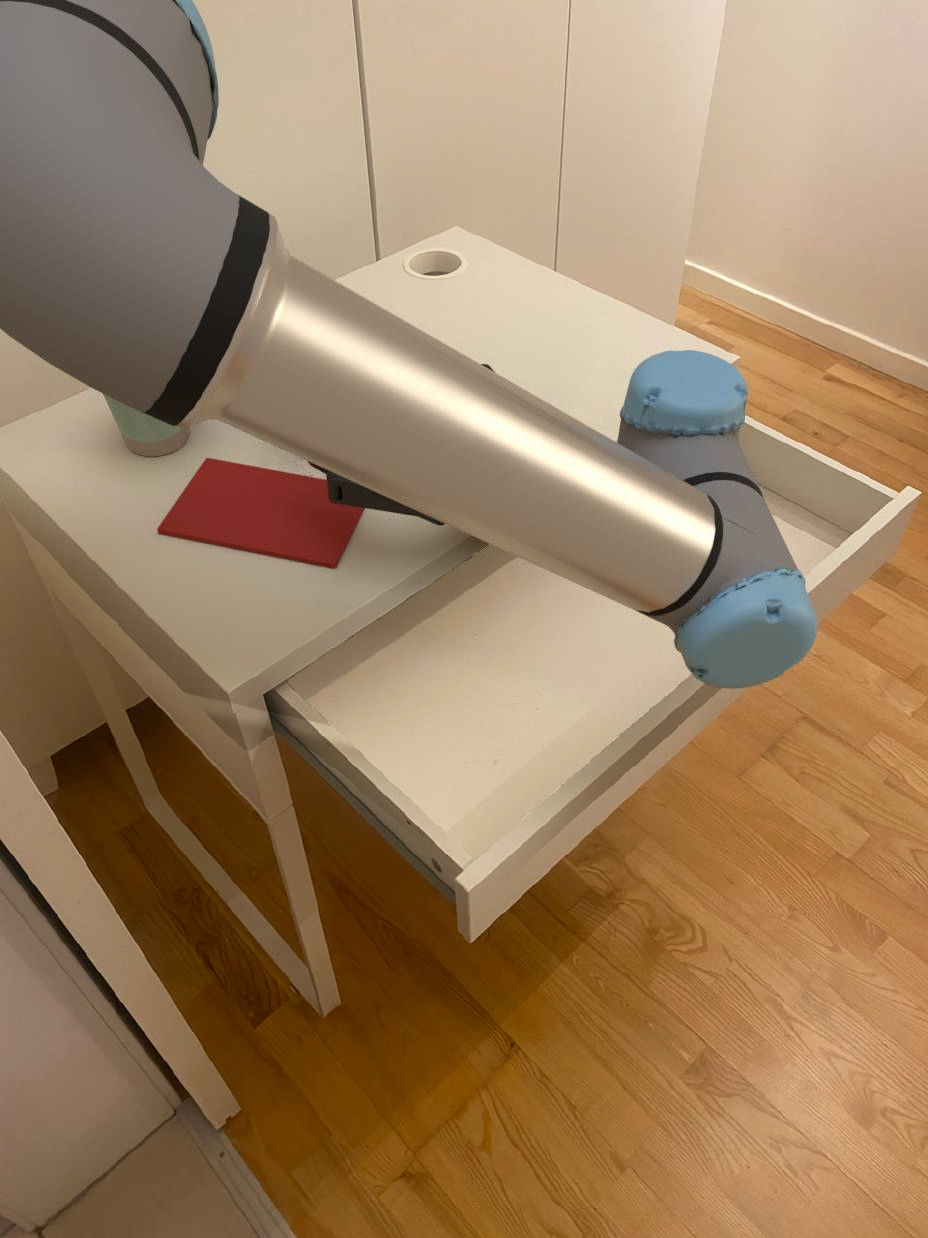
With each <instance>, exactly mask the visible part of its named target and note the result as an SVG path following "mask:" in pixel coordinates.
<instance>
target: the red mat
mask: <svg viewBox="0 0 928 1238" xmlns="http://www.w3.org/2000/svg"><path fill="white" fill-rule="evenodd" d="M365 509H366V508H361V507H354V506H348V505H342V504H336V503H332V502H330V501H329V496H328V488H327V479H324V478H319V477H313V476H309V475H304V474H303V475H302V474H299V473H298V474H297V473H292V472H287V471H282V470H281V471H280V470H277V469H276V470H275V469H270V468H265V467H260V466H254V465H249V464H244V463H239V462H232V461H228V460H222V459H217V458H212V457H206V458H205V459H204V460H203V462H202V464H201V465H200V466H199V468H198V469H197V471H196V472H195V473H194V475H193V476H192V478H191V480H190V481H188V483H187V485H186V486H185V488H184V490H182V492H181V494H180V495H179V497H178V498H177V500H176V501H175V502H174V504H173V505H172V507H171V508H170V509H169V510H168V513H167V514H166V515H165V517H164V518H163V520H162V521H161V522H160V524H159V525H158V527H157V529H156V530H157V533H158V534H161V535H167V536H171V537H177V538H181V539H186V540H191V541H194V542H195V541H196V542H201V543H206V544H211V545H215V546H220V547H221V546H222V547H225V548H231V549H237V550H240V551H241V550H242V551H246V552H251V553H255V554H261V555H266V556H271V557H276V558H281V559H286V560H291V561H295V562H301V563H305V564H311V565H316V566H319V567H327V568H331V569H336V568H337V566H338V563H339V562H340V559H341V558H342V555H343V554H344V552H345V550H346V548H347V546H348V544H349V542H350V539H351V537H352V535H353V533H354V531H355V529H356V527H357V525H358V524H359V521H360V519H361V517H362V515H363V513H364V511H365Z"/></svg>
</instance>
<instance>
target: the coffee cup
mask: <svg viewBox="0 0 928 1238" xmlns="http://www.w3.org/2000/svg"><path fill="white" fill-rule="evenodd" d="M102 395H103V398H104V400H105V401H106V404H107V406H108V408H109V410H110V412H111V414H112V416H113V419H114V421H115V423H116V425H117V428H118V430H119V432H120V434H121V437H122V438H123V440H124V443H125V444H126V447H127V448H128V449H129V450H130V451H131V452H133V453H134V454H136V455H139V456H143V457H161V456H165V455H169V454H171V453H174V452H176V451H177V450H179V449H181V448H182V447H183V446H184V445H185V444H186V442H187V441H188V439H189V435H190V431H189V427H186V428H183V429H179V428H176V427H174V426H172V425H169V424H167V423H165V422H163V421H160V420H158V419H156V418H154V417H151V416H149V415H147V414H145V413H141V412H139V411H137V410H135V409H133V408H131V407H129V406H127V405H125V404H123V403H121V402H119V401H117V400H115V399H113V398H111V397H109V396H107V395H105V394H103V393H102Z"/></svg>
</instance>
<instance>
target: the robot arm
mask: <svg viewBox="0 0 928 1238" xmlns="http://www.w3.org/2000/svg"><path fill="white" fill-rule="evenodd" d="M216 70H217V69H216V61H215V55H214V50H213V46H212V42H211V38H210V35H209V33H208V29H207V27H206V24H205V22H204V20H203V18H202V15H201V14H200V12H199V9H198V7H197V6H196V4H195V2H194V1H193V0H0V330H1V331H3V332H4V333H5V334H6V335H7V336H9V337H10V338H11V339H13V340H14V341H16V342H17V343H18V344H20V345H21V346H23V347H24V348H26V349H27V350H29V351H30V352H32V353H33V354H35V355H36V356H38V357H39V358H40V359H42V360H43V361H45V362H46V363H48V364H49V365H51V366H53V367H55V368H57V369H58V370H59V371H61V372H63V373H65V374H67V375H69V377H71V378H74V379H75V380H77V381H79V382H80V383H82V384H84V385H85V386H88V388H90V389H93V390H95V391H97V392H99V393H101V394H102V395H103V394H105V395H107V396H109V397H111V398H113V399H115V400H117V401H119V402H121V403H123V404H125V405H127V406H129V407H131V408H133V409H135V410H137V411H139V412H141V413H145V414H147V415H149V416H151V417H154V418H156V419H158V420H160V421H163V422H165V423H167V424H169V425H172V426H174V427H176V428H179V429H183V428H186V427H188V428H189V427H191V426H195V425H197V424H201V423H202V422H203V423H204V422H206V421H209V420H218V421H219V422H222V423H224V424H227V425H229V426H231V427H233V428H234V429H237V430H239V431H242V432H244V433H246V434H247V435H250V436H253V437H255V438H257V439H258V440H259V439H260V440H261V441H264V442H266V443H268V444H270V445H272V446H274V447H277V448H279V449H281V450H283V451H285V452H288V453H290V454H292V455H294V456H296V457H297V458H298V457H299V458H301V459H303V460H304V461H307V462H308V464H309V465H310V466H311V467H312V468H313V469H316V470H317V471H319V472H320V473H322V474H324V475H325V477H326V479H325V480H327V488H328V496H329V501H330V502H332V503H336V504H342V505H348V506H354V507H361V508H365V509H368V510H373V511H380V512H386V513H391V514H400V515H404V516H405V515H406V516H411V517H418V518H420V519H423V520H425V521H426V522H429V523H430V524H434V525H436V526H445V525H448V527H449V526H450V527H451V528H454V529H456V530H458V531H460V532H463V533H465V534H467V535H469V536H471V537H473V538H476V539H478V540H480V541H483V542H484V543H487V544H488V545H491V546H493V547H496V548H497V549H499V550H502V551H504V552H506V553H509V554H511V555H513V556H515V557H517V558H519V559H521V560H524V561H526V562H528V563H530V564H533V565H535V566H537V567H539V568H542V569H543V570H546V571H548V572H550V573H551V574H554V575H557V576H559V577H561V578H563V579H566V580H568V581H570V582H572V583H573V584H576V585H578V586H580V587H583V588H585V589H587V590H590V591H592V592H594V593H596V594H598V595H601V596H603V597H605V598H607V599H609V600H611V601H614V602H616V603H618V604H620V605H622V606H624V607H627V608H628V609H631V610H633V611H635V612H637V613H640V614H642V615H644V616H646V617H647V618H649V619H652V620H654V621H655V622H658V623H660V624H663V625H665V626H666V627H668V628H669V629H670V631H672V633H673V634H674V639H673V644H674V648H675V650H676V651H677V652H679V653H680V654H681V656H682V659H683V661H684V665H685V666H686V668H687V669H688V671H689V672H690V674H692V675H693V676H694V677H695V679H696V680H698V681H700V682H701V683H703V684H704V685H708V686H709V687H710V686H711V687H714V688H719V689H731V690H733V689H734V690H736V689H744V688H751V687H755V686H759V685H762V684H765V683H768V682H771V681H773V680H775V679H777V678H779V677H781V676H783V675H784V674H785V672H786V671H788V670H790V669H791V668H793V667H795V666H796V665H797V664H799V663H801V662H802V661H803V660H804V658H805V657H807V655H808V654H809V653H810V651H811V650H812V648H813V646H814V643H815V641H816V639H817V634H818V619H817V615H816V613H815V610H814V607H813V604H812V602H811V599H810V596H809V593H808V591H807V588H806V577H805V576H804V574H803V573H802V571H801V570H800V569H798V566H797V564H796V562H795V560H794V557H793V556H792V554H791V552H790V550H789V548H788V546H787V544H786V541H785V539H784V537H783V535H782V533H781V531H780V529H779V527H778V525H777V523H776V520H775V518H774V516H773V515H772V512H771V511H770V508H769V506H768V504H767V502H766V499H765V497H764V495H763V492H762V490H761V488H760V485H759V484H758V481H757V479H756V476H755V474H754V472H753V470H752V467H751V466H750V464H749V462H748V459H747V457H746V455H745V452H744V450H743V448H742V447H741V444H740V438H739V437H740V430H741V428H742V425H744V424H745V421H746V413H745V411H746V405H747V400H748V393H749V389H748V384H747V382H746V379H745V377H744V376H743V374H742V373H741V371H740V370H738V368H736V366H734V365H733V364H732V363H730V362H728V361H727V360H726V359H723V358H721V357H719V356H717V355H714V354H711V353H709V352H704V351H700V350H694V349H685V350H665V351H662V352H658V353H656V354H655V353H654V354H653V355H651V356H649V357H646V359H644V360H643V361H642V362H640V363H639V364H638V365H637V366H636V368H635V369H634V370H633V372H632V373H631V376H630V379H629V381H628V386H627V389H626V394H625V398H624V401H623V404H622V407H621V409H620V410H619V418H620V420H619V429H618V434H617V441H615V440H613V439H612V438H609V437H608V436H606V435H605V434H603V433H601V432H599V431H598V430H596V429H594V428H592V427H591V426H589V425H587V424H585V423H583V422H582V421H580V420H578V419H577V418H575V417H573V416H572V415H570V414H568V413H566V412H564V411H563V410H560V409H559V408H558V407H556V406H554V405H552V404H550V403H549V402H547V401H545V400H543V399H542V398H540V397H538V396H536V395H535V394H534V393H532V392H530V391H528V390H526V389H525V388H523V387H521V386H519V385H517V384H516V383H514V382H513V381H511V380H509V379H507V378H505V377H504V376H502V375H500V374H499V373H497V372H496V371H495V370H494V369H493V368H492V367H491V366H490V365H489V364H487V363H480V362H477V361H476V360H474V359H472V358H471V357H469V356H467V355H466V354H463V353H462V352H460V351H458V350H457V349H455V348H453V347H452V346H450V345H449V344H446V343H444V342H443V341H441V340H439V338H438V339H437V338H436V337H434V336H433V335H430V334H429V333H428V332H426V331H424V330H422V329H420V328H418V327H416V326H415V325H413V324H411V322H408V321H407V320H404V319H403V318H401V317H399V316H397V315H396V314H394V313H392V312H390V311H389V310H387V309H385V308H384V307H382V306H381V305H378V304H377V303H375V302H373V301H372V300H370V299H368V298H366V297H365V296H363V295H361V294H359V293H358V292H356V291H354V290H352V289H350V288H349V287H347V286H345V285H344V284H342V283H340V282H338V281H337V280H336V279H333V278H332V277H330V276H328V275H326V274H324V273H323V272H322V271H320V270H318V269H316V268H314V267H312V266H310V265H309V264H307V263H305V262H304V261H302V260H300V259H298V258H297V257H295V256H293V255H292V254H290V252H289V250H288V249H287V247H286V244H285V242H284V238H283V236H282V232H281V229H280V227H279V224H278V220H277V218H276V216H275V215H273V214H271V213H270V212H269V211H267V210H265V209H263V208H262V207H260V206H258V205H256V204H255V203H253V202H252V201H250V200H248V199H246V198H245V197H243V196H242V195H240V194H238V193H236V192H235V191H233V190H231V189H230V188H229V187H228V186H226V185H225V184H223V183H222V182H221V181H219V180H218V179H217V178H216V177H215V176H214V175H213V174H212V173H211V172H210V171H209V170H208V169H207V168H206V167H205V166H204V161H205V157H206V150H207V144H208V141H209V140H210V138H211V137H212V134H213V132H214V129H215V126H216V124H217V119H218V109H219V106H220V104H219V102H220V100H219V99H220V95H219V94H220V93H219V82H218V74H217V71H216Z"/></svg>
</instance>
